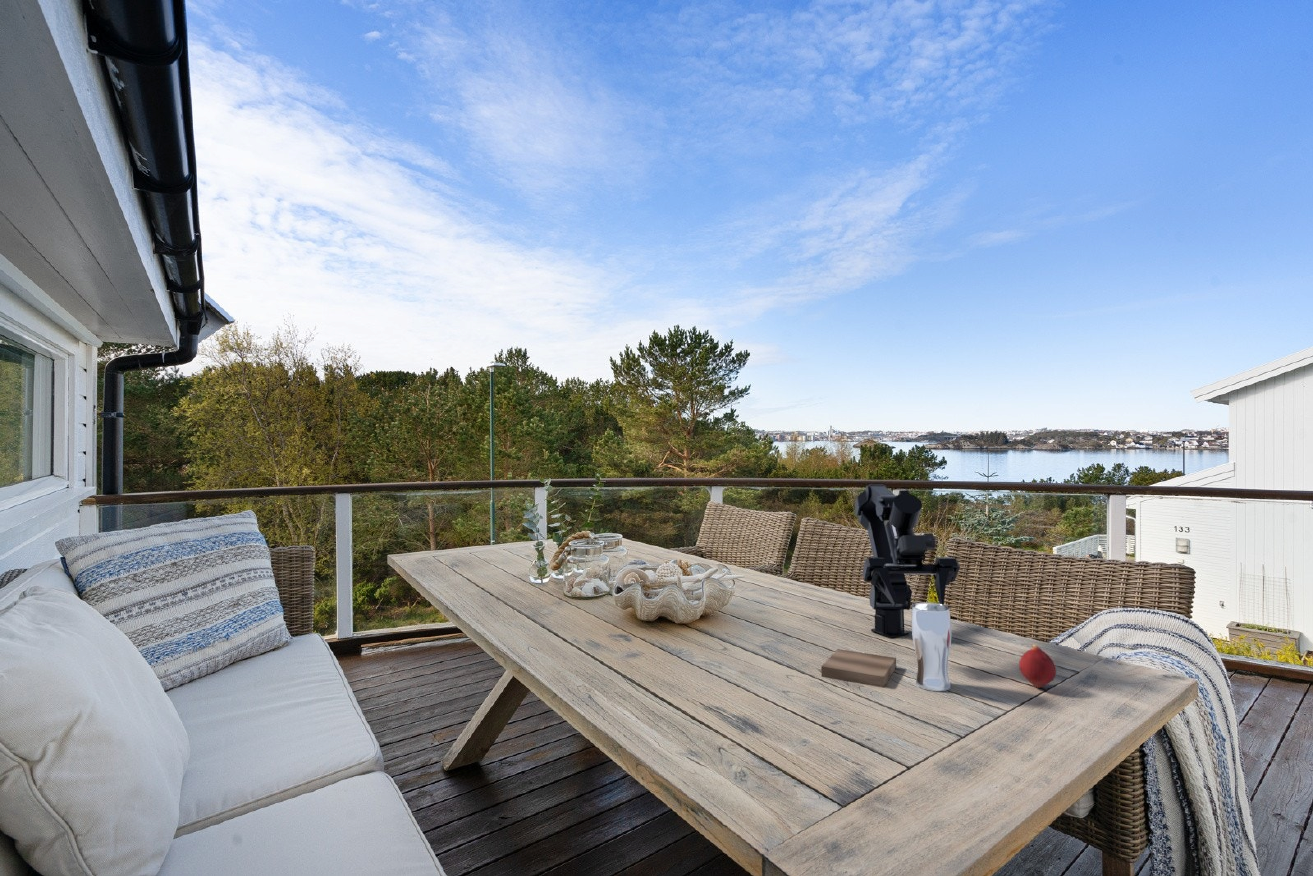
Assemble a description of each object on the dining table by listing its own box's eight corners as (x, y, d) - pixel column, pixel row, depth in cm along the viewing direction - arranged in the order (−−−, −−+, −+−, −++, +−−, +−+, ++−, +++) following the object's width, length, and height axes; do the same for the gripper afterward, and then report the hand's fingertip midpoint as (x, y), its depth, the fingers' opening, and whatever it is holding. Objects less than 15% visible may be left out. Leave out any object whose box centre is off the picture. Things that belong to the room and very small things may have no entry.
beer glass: (945, 678, 122) (942, 602, 122) (958, 693, 115) (956, 611, 115) (908, 678, 122) (906, 602, 123) (919, 692, 115) (917, 611, 116)
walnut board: (838, 658, 135) (837, 649, 135) (896, 667, 128) (896, 657, 128) (821, 676, 124) (821, 666, 124) (884, 687, 118) (883, 676, 118)
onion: (1051, 683, 118) (1050, 641, 118) (1060, 695, 113) (1058, 650, 113) (1016, 680, 120) (1015, 639, 120) (1023, 691, 115) (1022, 648, 115)
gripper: (863, 520, 133) (876, 582, 122) (955, 519, 131) (977, 583, 120) (857, 550, 141) (869, 612, 130) (944, 550, 138) (963, 613, 127)
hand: (918, 605), depth 126 cm, fingers open, 9 cm apart
